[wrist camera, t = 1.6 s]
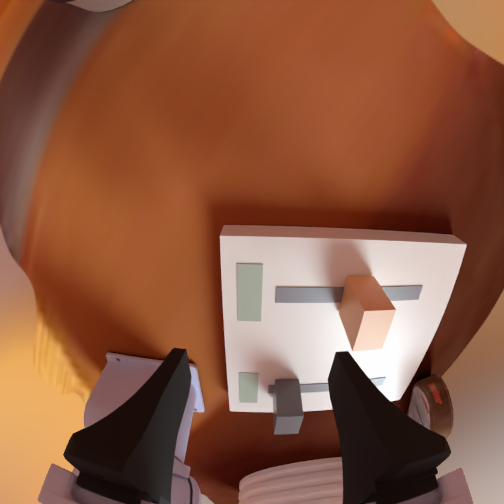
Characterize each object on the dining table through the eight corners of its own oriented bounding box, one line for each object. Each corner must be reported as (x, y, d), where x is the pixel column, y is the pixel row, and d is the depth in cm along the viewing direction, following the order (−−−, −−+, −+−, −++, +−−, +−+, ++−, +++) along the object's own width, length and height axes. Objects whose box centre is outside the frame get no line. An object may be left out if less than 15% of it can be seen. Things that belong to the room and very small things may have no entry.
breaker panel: (231, 395, 26) (230, 411, 24) (223, 224, 18) (219, 236, 16) (394, 386, 26) (400, 400, 24) (452, 234, 18) (467, 244, 16)
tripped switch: (338, 313, 19) (352, 351, 15) (346, 276, 17) (364, 311, 14) (364, 312, 19) (382, 349, 15) (373, 276, 17) (396, 309, 14)
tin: (418, 420, 30) (434, 463, 22) (399, 427, 30) (414, 472, 23) (434, 359, 24) (464, 415, 16) (410, 369, 25) (437, 429, 17)
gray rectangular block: (272, 399, 23) (274, 434, 19) (275, 379, 22) (276, 416, 18) (294, 399, 23) (298, 433, 19) (299, 379, 21) (303, 416, 18)
